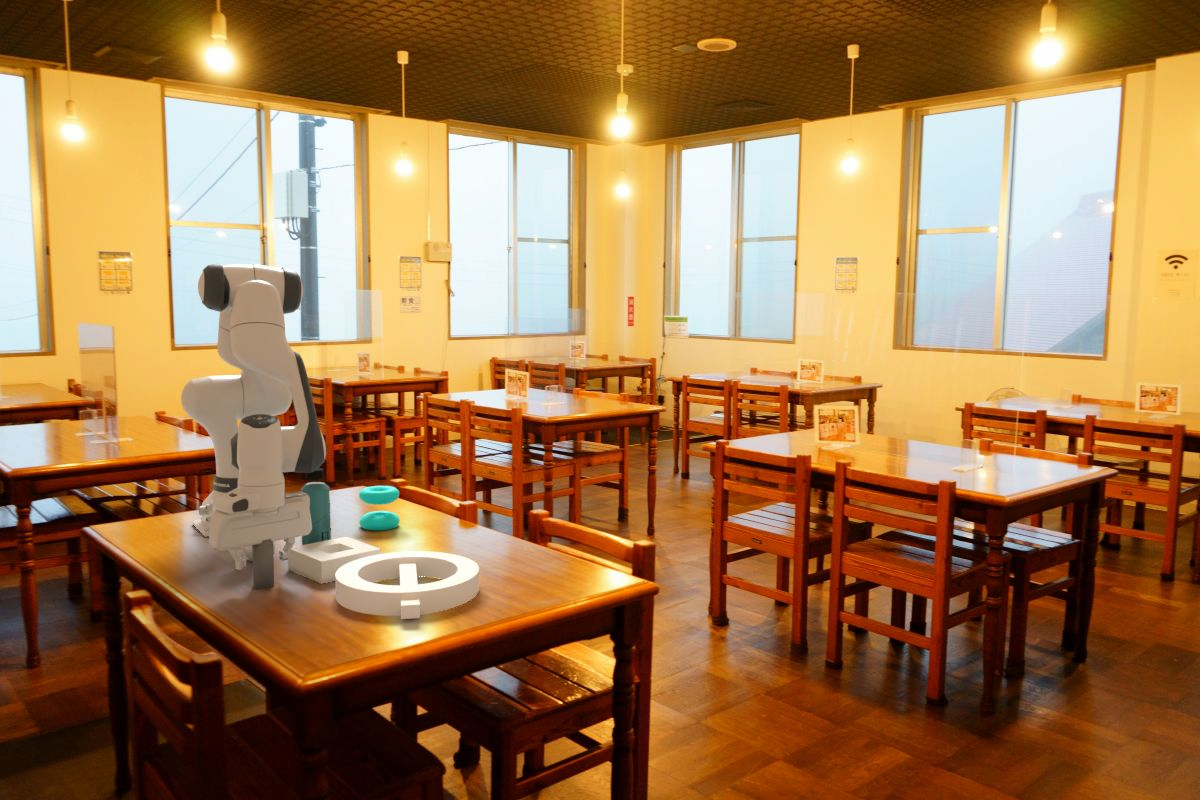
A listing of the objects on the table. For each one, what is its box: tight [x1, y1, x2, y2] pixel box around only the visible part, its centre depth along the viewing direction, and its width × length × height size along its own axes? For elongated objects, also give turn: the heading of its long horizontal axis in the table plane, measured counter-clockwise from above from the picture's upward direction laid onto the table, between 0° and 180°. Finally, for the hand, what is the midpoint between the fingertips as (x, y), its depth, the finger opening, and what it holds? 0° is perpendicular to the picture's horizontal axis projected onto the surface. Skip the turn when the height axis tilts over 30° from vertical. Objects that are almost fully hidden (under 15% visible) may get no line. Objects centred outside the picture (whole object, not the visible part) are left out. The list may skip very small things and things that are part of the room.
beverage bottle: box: [300, 467, 332, 545], centre depth 206 cm, size 6×7×20 cm
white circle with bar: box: [334, 550, 480, 620], centre depth 182 cm, size 28×28×5 cm
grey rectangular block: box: [252, 539, 275, 590], centre depth 184 cm, size 4×4×10 cm
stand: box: [287, 536, 382, 584], centre depth 196 cm, size 14×14×5 cm
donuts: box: [358, 485, 401, 532], centre depth 233 cm, size 10×10×10 cm
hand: (263, 563), depth 184 cm, fingers open, 8 cm apart
